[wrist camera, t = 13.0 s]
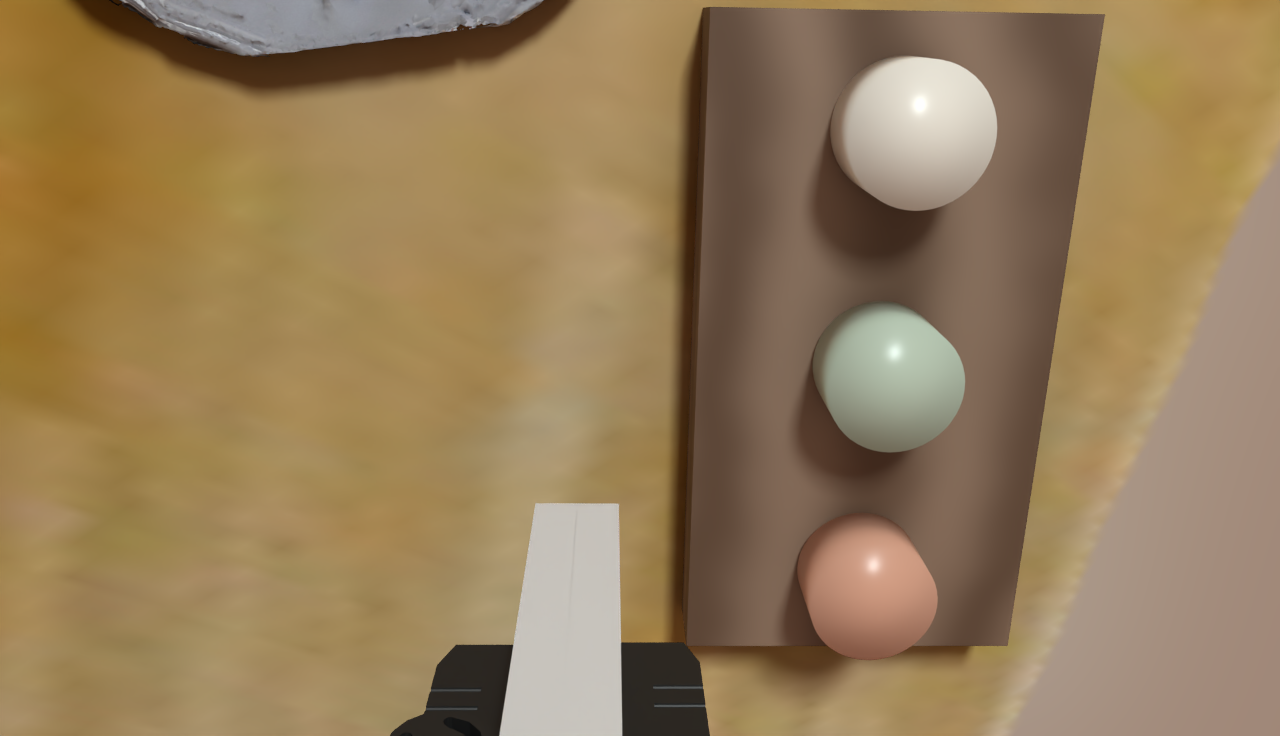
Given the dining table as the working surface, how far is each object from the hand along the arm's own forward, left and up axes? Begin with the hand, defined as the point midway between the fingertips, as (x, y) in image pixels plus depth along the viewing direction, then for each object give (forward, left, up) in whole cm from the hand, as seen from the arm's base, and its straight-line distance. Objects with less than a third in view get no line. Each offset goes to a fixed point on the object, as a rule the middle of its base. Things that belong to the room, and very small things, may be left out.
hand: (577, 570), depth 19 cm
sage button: (+11, -3, -21) cm, 24 cm away
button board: (+11, -3, -24) cm, 27 cm away
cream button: (+11, +6, -21) cm, 25 cm away
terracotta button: (+11, -12, -21) cm, 27 cm away
